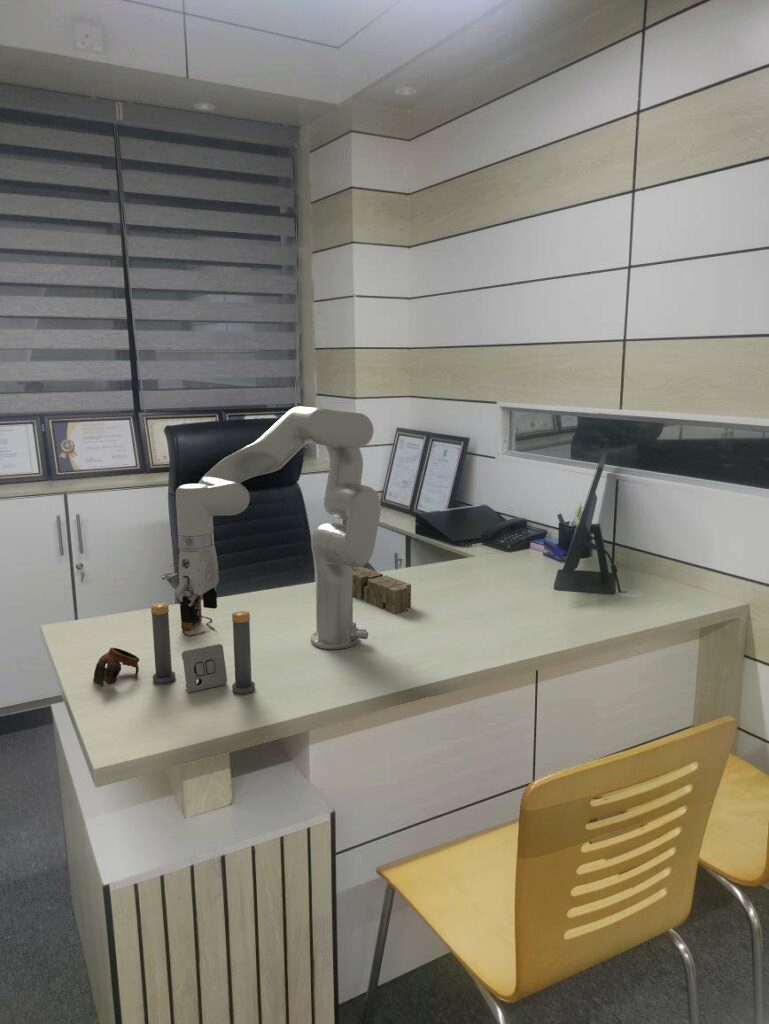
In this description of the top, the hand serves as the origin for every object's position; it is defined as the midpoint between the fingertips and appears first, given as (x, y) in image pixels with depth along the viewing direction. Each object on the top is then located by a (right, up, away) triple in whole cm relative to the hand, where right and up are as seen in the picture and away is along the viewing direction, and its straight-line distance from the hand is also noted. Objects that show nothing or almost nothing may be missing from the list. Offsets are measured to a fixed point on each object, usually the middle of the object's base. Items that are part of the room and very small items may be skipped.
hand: (199, 614), depth 165 cm
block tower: (+38, -4, +63) cm, 74 cm away
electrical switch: (0, -17, +4) cm, 17 cm away
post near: (+10, -17, +1) cm, 20 cm away
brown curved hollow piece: (-21, -16, +6) cm, 27 cm away
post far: (-10, -16, +6) cm, 20 cm away
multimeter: (-9, -9, +39) cm, 41 cm away
